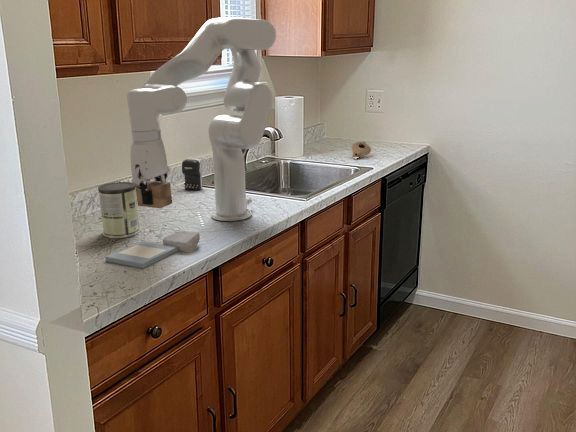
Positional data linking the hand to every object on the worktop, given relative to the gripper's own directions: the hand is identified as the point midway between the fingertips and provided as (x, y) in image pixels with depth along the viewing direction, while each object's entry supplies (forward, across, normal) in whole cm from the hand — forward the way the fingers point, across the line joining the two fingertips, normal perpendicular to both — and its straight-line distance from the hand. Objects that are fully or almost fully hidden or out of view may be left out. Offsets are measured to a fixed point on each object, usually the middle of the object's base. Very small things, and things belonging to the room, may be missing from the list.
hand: (154, 200), depth 165 cm
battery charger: (+13, -52, -26) cm, 60 cm away
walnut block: (+1, 0, 0) cm, 1 cm away
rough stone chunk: (+11, +4, +10) cm, 16 cm away
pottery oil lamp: (+18, -136, +8) cm, 138 cm away
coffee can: (+11, +1, -13) cm, 17 cm away
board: (+10, +14, +6) cm, 18 cm away
